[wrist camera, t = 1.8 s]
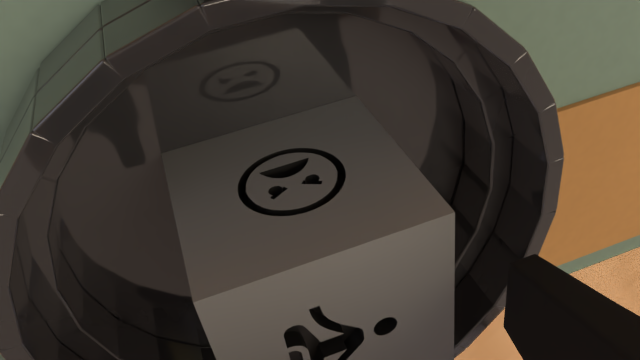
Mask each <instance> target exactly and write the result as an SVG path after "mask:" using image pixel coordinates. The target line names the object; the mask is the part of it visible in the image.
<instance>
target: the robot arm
mask: <svg viewBox="0 0 640 360" xmlns="http://www.w3.org/2000/svg"><path fill="white" fill-rule="evenodd" d="M504 328H505V330H506V331H507V333H508V335H509V336H510V338H511V340H512V341H513V343H514V345H515V347H516V348H517V350H518V352H519V353H520V355H521V356H522V358H523V360H640V316H638V315H636V314H635V313H633V312H631V311H629V310H628V309H626V308H624V307H622V306H621V305H619V304H617V303H616V302H614V301H612V300H610V299H609V298H607V297H605V296H604V295H602V294H600V293H599V292H597V291H595V290H594V289H592V288H591V287H589V286H587V285H586V284H584V283H582V282H581V281H579V280H577V279H576V278H574V277H573V276H571V275H569V274H568V273H566V272H564V271H563V270H561V269H560V268H558V267H556V266H555V265H553V264H551V263H550V262H548V261H546V260H545V259H543V258H541V257H540V256H538V255H536V254H533V255H530V256H528V257H525V258H522V259H520V260H517V261H514V262H512V263H509V270H508V282H507V294H506V305H505V317H504Z"/></svg>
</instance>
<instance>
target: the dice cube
mask: <svg viewBox="0 0 640 360" xmlns="http://www.w3.org/2000/svg"><path fill="white" fill-rule="evenodd" d="M161 156H162V161H163V165H164V170H165V175H166V179H167V184H168V188H169V193H170V198H171V202H172V207H173V212H174V216H175V221H176V226H177V230H178V235H179V240H180V244H181V249H182V254H183V258H184V263H185V268H186V272H187V277H188V282H189V286H190V291H191V296H192V300H193V304H194V306H195V309H196V311H197V314H198V316H199V319H200V321H201V323H202V326H203V328H204V331H205V333H206V336H207V338H208V341H209V343H210V346H211V348H212V350H213V353H214V355H215V358H216V360H454V282H455V212H454V210H453V209H452V208H451V207H450V206H449V205H448V203H447V202H446V201H445V200H444V199H443V197H442V196H441V195H440V194H439V193H438V192H437V190H436V189H435V188H434V187H433V186H432V185H431V183H430V182H429V181H428V180H427V179H426V177H425V176H424V175H423V174H422V173H421V172H420V170H419V169H418V168H417V167H416V166H415V165H414V163H413V162H412V161H411V160H410V159H409V157H408V156H407V155H406V154H405V153H404V152H403V150H402V149H401V148H400V147H399V146H398V145H397V143H396V142H395V141H394V140H393V139H392V137H391V136H390V135H389V134H388V133H387V132H386V130H385V129H384V128H383V127H382V126H381V125H380V123H379V122H378V121H377V120H376V119H375V117H374V116H373V115H372V114H371V113H370V112H369V110H368V109H367V108H366V107H365V106H364V105H363V103H362V102H361V101H360V100H359V99H358V97H357V96H354V97H350V98H347V99H344V100H340V101H337V102H333V103H330V104H327V105H323V106H320V107H316V108H313V109H310V110H306V111H303V112H300V113H296V114H293V115H289V116H286V117H283V118H279V119H276V120H272V121H269V122H266V123H262V124H259V125H256V126H252V127H249V128H245V129H242V130H239V131H235V132H232V133H228V134H225V135H222V136H218V137H215V138H212V139H208V140H205V141H201V142H198V143H195V144H191V145H188V146H185V147H181V148H178V149H174V150H171V151H168V152H164V153H161Z"/></svg>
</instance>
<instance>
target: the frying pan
mask: <svg viewBox="0 0 640 360" xmlns="http://www.w3.org/2000/svg"><path fill="white" fill-rule="evenodd" d="M354 96H357V97H358V99H359V100H360V101H361V102H362V103H363V105H364V106H365V107H366V108H367V109H368V110H369V112H370V113H371V114H372V115H373V116H374V117H375V119H376V120H377V121H378V122H379V123H380V125H381V126H382V127H383V128H384V129H385V130H386V132H387V133H388V134H389V135H390V136H391V137H392V139H393V140H394V141H395V142H396V143H397V145H398V146H399V147H400V148H401V149H402V150H403V152H404V153H405V154H406V155H407V156H408V157H409V159H410V160H411V161H412V162H413V163H414V165H415V166H416V167H417V168H418V169H419V170H420V172H421V173H422V174H423V175H424V176H425V177H426V179H427V180H428V181H429V182H430V183H431V185H432V186H433V187H434V188H435V189H436V190H437V192H438V193H439V194H440V195H441V196H442V197H443V199H444V200H445V201H446V202H447V203H448V205H449V206H450V207H451V208H452V209H453V210H454V212H455V282H454V358H455V357H456V356H458V355H459V354H460V353H462V352H463V351H464V350H465V349H466V348H467V347H469V346H470V344H471V343H472V342H473V341H474V340H475V339H476V338H477V337H478V336H479V335H480V334H481V333H482V332H483V331H484V330H485V329H486V328H487V326H488V325H489V324H490V323H491V322H492V321H493V320H494V319H495V318H496V317H497V316H498V315H499V314H500V313H501V312H502V311H503V310H504V307H505V305H506V294H507V282H508V270H509V263H512V262H514V261H517V260H520V259H522V258H525V257H528V256H530V255H533V254H536V255H538V256H539V253H540V251H541V248H542V246H543V243H544V241H545V239H546V236H547V234H548V231H549V229H550V226H551V224H552V221H553V219H554V216H555V214H556V210H557V205H558V198H559V191H560V185H561V178H562V171H563V164H564V157H563V156H564V150H563V144H562V138H561V132H560V125H559V119H558V113H557V106H556V102H555V99H554V97H553V96H552V94H551V92H550V90H549V88H548V87H547V85H546V83H545V81H544V79H543V78H542V76H541V74H540V72H539V71H538V69H537V67H536V65H535V63H534V62H533V60H532V58H531V56H530V54H529V53H528V51H527V50H526V49H525V47H524V46H523V45H521V44H520V43H519V42H518V41H516V40H515V39H514V38H513V37H512V36H510V35H509V34H508V33H507V32H505V31H504V30H503V29H502V28H501V27H499V26H498V25H497V24H496V23H495V22H493V21H492V20H491V19H490V18H488V17H487V16H486V15H485V14H484V13H482V12H481V11H480V10H479V9H477V8H476V7H475V6H473V5H471V4H470V3H468V2H466V1H465V0H104V1H102V2H101V3H100V5H99V4H98V5H96V6H95V8H94V9H93V10H92V11H91V12H90V13H89V14H88V15H87V16H86V17H85V18H84V19H83V20H82V21H81V22H80V23H79V24H78V25H77V26H76V27H75V28H74V29H73V30H72V31H71V32H70V33H69V34H68V35H67V36H66V37H65V38H64V39H63V40H62V41H61V42H60V43H59V44H58V45H57V46H56V47H55V48H54V49H53V50H52V52H51V53H50V54H49V55H48V56H47V57H46V58H45V59H44V60H43V61H42V62H41V63H40V67H39V68H38V69H37V70H36V72H35V74H34V76H33V78H32V80H31V82H30V84H29V86H28V88H27V90H26V92H25V94H24V96H23V98H22V100H21V102H20V104H19V106H18V108H17V110H16V112H15V114H14V116H13V118H12V120H11V122H10V124H9V126H8V128H7V130H6V133H5V137H4V139H3V144H2V149H1V154H0V354H1V355H2V356H3V358H4V359H5V360H216V358H215V355H214V353H213V350H212V348H211V346H210V343H209V341H208V338H207V336H206V333H205V331H204V328H203V326H202V323H201V321H200V319H199V316H198V314H197V311H196V309H195V306H194V304H193V300H192V296H191V291H190V286H189V282H188V277H187V272H186V268H185V263H184V258H183V254H182V249H181V244H180V240H179V235H178V230H177V226H176V221H175V216H174V212H173V207H172V202H171V198H170V193H169V188H168V184H167V179H166V175H165V170H164V165H163V161H162V156H161V153H164V152H168V151H171V150H174V149H178V148H181V147H185V146H188V145H191V144H195V143H198V142H201V141H205V140H208V139H212V138H215V137H218V136H222V135H225V134H228V133H232V132H235V131H239V130H242V129H245V128H249V127H252V126H256V125H259V124H262V123H266V122H269V121H272V120H276V119H279V118H283V117H286V116H289V115H293V114H296V113H300V112H303V111H306V110H310V109H313V108H316V107H320V106H323V105H327V104H330V103H333V102H337V101H340V100H344V99H347V98H350V97H354Z"/></svg>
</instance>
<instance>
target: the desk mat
mask: <svg viewBox="0 0 640 360" xmlns="http://www.w3.org/2000/svg"><path fill="white" fill-rule="evenodd" d="M102 1H104V0H0V154H1V149H2V144H3V139H4V137H5V133H6V130H7V128H8V126H9V124H10V122H11V120H12V118H13V116H14V114H15V112H16V110H17V108H18V106H19V104H20V102H21V100H22V98H23V96H24V94H25V92H26V90H27V88H28V86H29V84H30V82H31V80H32V78H33V76H34V74H35V72H36V70H37V69H38V68H39V67H40V63H41V62H42V61H43V60H44V59H45V58H46V57H47V56H48V55H49V54H50V53H51V52H52V50H53V49H54V48H55V47H56V46H57V45H58V44H59V43H60V42H61V41H62V40H63V39H64V38H65V37H66V36H67V35H68V34H69V33H70V32H71V31H72V30H73V29H74V28H75V27H76V26H77V25H78V24H79V23H80V22H81V21H82V20H83V19H84V18H85V17H86V16H87V15H88V14H89V13H90V12H91V11H92V10H93V9H94V8H95V6H96V5H98V4H99V5H100V3H101V2H102ZM465 1H466V2H468V3H470V4H471V5H473V6H475V7H476V8H477V9H479V10H480V11H481V12H482V13H484V14H485V15H486V16H487V17H488V18H490V19H491V20H492V21H493V22H495V23H496V24H497V25H498V26H499V27H501V28H502V29H503V30H504V31H505V32H507V33H508V34H509V35H510V36H512V37H513V38H514V39H515V40H516V41H518V42H519V43H520V44H521V45H523V46H524V47H525V49H526V50H527V51H528V53H529V54H530V56H531V58H532V60H533V62H534V63H535V65H536V67H537V69H538V71H539V72H540V74H541V76H542V78H543V79H544V81H545V83H546V85H547V87H548V88H549V90H550V92H551V94H552V96H553V97H554V99H555V102H556V106H557V113H558V119H559V125H560V132H561V138H562V144H563V150H564V156H563V157H564V164H563V171H562V178H561V185H560V191H559V198H558V205H557V210H556V214H555V216H554V219H553V221H552V224H551V226H550V229H549V231H548V234H547V236H546V239H545V241H544V243H543V246H542V248H541V251H540V253H539V256H540V257H541V258H543V259H545V260H546V261H548V262H550V263H551V264H553V265H555V266H556V267H558V268H560V269H561V270H563V271H564V272H566V273H568V274H570V273H572V272H575V271H578V270H580V269H583V268H586V267H588V266H591V265H593V264H596V263H599V262H601V261H604V260H606V259H609V258H612V257H614V256H617V255H619V254H622V253H625V252H627V251H630V250H632V249H635V248H638V247H640V0H465ZM0 360H5V359H4V358H3V356H2V355H1V354H0Z"/></svg>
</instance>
